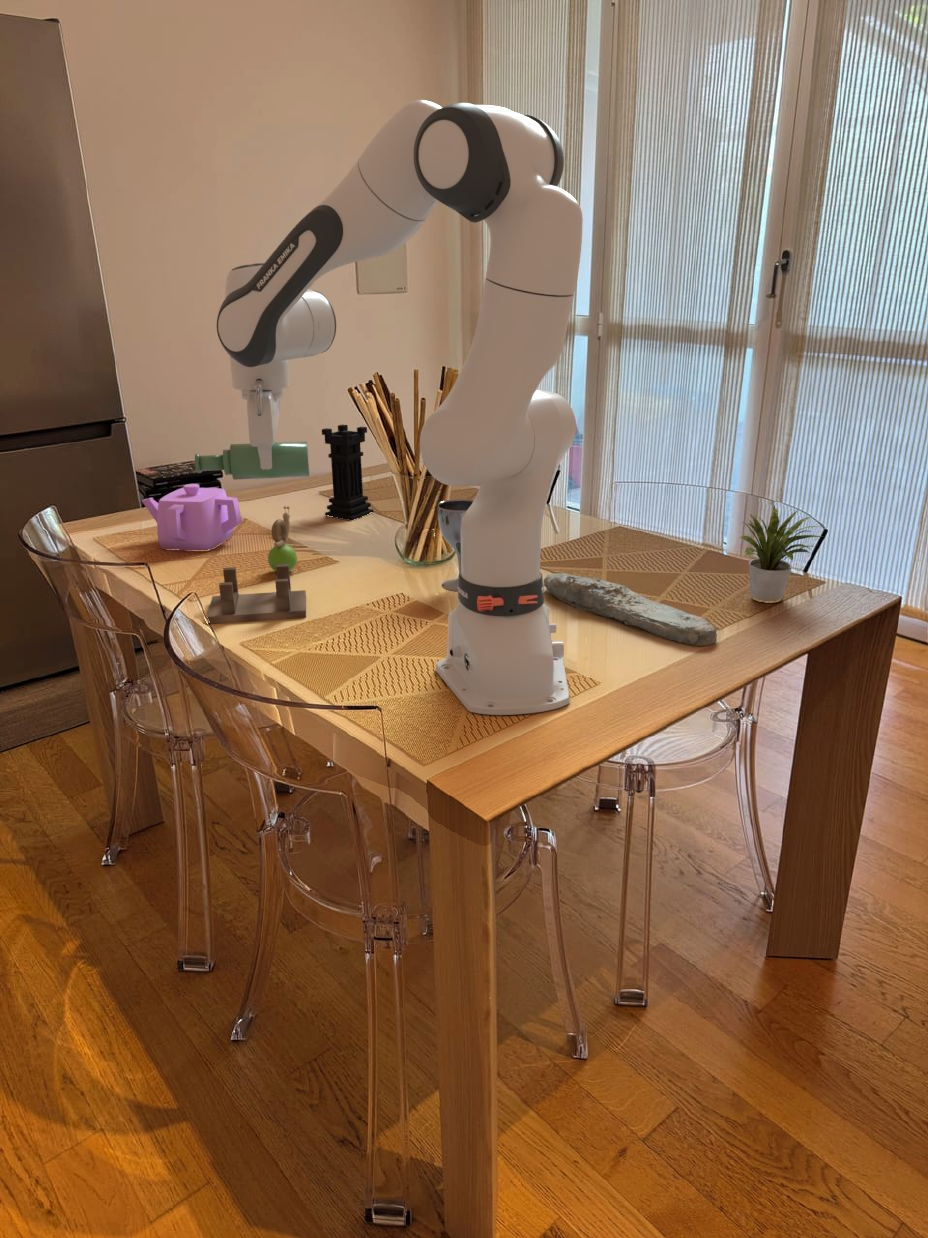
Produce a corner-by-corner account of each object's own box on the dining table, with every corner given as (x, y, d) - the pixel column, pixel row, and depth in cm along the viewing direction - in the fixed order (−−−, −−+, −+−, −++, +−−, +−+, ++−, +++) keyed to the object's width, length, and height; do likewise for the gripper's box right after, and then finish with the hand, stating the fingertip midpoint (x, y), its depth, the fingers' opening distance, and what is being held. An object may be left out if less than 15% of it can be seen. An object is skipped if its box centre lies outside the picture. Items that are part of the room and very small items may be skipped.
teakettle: (173, 559, 181) (165, 499, 177) (145, 540, 194) (136, 483, 189) (252, 543, 191) (246, 486, 186) (220, 526, 203) (214, 472, 199)
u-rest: (306, 596, 160) (303, 562, 158) (306, 617, 151) (303, 581, 149) (213, 602, 158) (209, 567, 155) (207, 623, 149) (202, 587, 146)
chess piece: (373, 512, 212) (369, 426, 205) (352, 520, 206) (347, 432, 199) (346, 508, 216) (341, 423, 209) (325, 516, 210) (319, 429, 202)
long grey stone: (690, 664, 136) (728, 649, 142) (696, 631, 134) (734, 618, 140) (527, 592, 160) (566, 582, 166) (530, 564, 158) (569, 555, 164)
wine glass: (478, 593, 161) (478, 511, 155) (435, 590, 162) (433, 509, 157) (486, 578, 168) (486, 499, 162) (444, 576, 169) (443, 498, 164)
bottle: (309, 481, 149) (308, 450, 150) (308, 467, 143) (306, 435, 145) (199, 486, 146) (198, 455, 148) (193, 472, 141) (193, 439, 142)
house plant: (769, 622, 147) (781, 524, 141) (704, 597, 158) (713, 506, 152) (824, 604, 154) (838, 510, 148) (759, 581, 165) (769, 494, 159)
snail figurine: (305, 566, 176) (300, 506, 171) (290, 577, 170) (285, 515, 165) (279, 564, 177) (274, 505, 172) (264, 575, 171) (258, 513, 167)
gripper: (278, 384, 132) (285, 478, 137) (283, 366, 150) (289, 449, 156) (234, 385, 131) (243, 479, 136) (244, 367, 149) (251, 450, 155)
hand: (267, 463), depth 146 cm, fingers closed on bottle, 6 cm apart
